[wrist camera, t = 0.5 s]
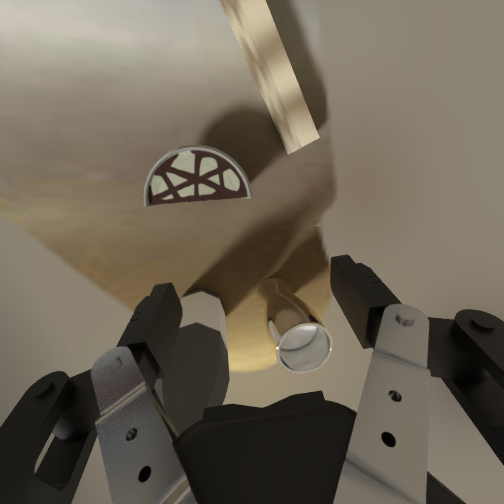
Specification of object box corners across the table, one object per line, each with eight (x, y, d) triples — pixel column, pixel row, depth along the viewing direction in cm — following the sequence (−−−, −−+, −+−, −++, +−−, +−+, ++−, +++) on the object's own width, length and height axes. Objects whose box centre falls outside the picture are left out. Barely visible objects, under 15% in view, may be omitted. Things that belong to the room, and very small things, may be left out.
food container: (241, 153, 34) (251, 137, 24) (245, 196, 36) (255, 198, 26) (154, 158, 33) (127, 143, 23) (161, 203, 34) (139, 207, 25)
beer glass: (255, 274, 39) (277, 322, 25) (295, 274, 40) (339, 320, 26) (252, 312, 41) (272, 378, 26) (291, 311, 42) (330, 374, 27)
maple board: (212, -16, 29) (211, -68, 23) (230, -26, 29) (233, -81, 23) (288, 154, 35) (302, 147, 29) (302, 146, 35) (319, 137, 29)
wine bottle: (223, 331, 41) (237, 666, 12) (174, 330, 39) (60, 705, 11) (226, 288, 39) (255, 562, 10) (176, 286, 38) (43, 593, 9)
